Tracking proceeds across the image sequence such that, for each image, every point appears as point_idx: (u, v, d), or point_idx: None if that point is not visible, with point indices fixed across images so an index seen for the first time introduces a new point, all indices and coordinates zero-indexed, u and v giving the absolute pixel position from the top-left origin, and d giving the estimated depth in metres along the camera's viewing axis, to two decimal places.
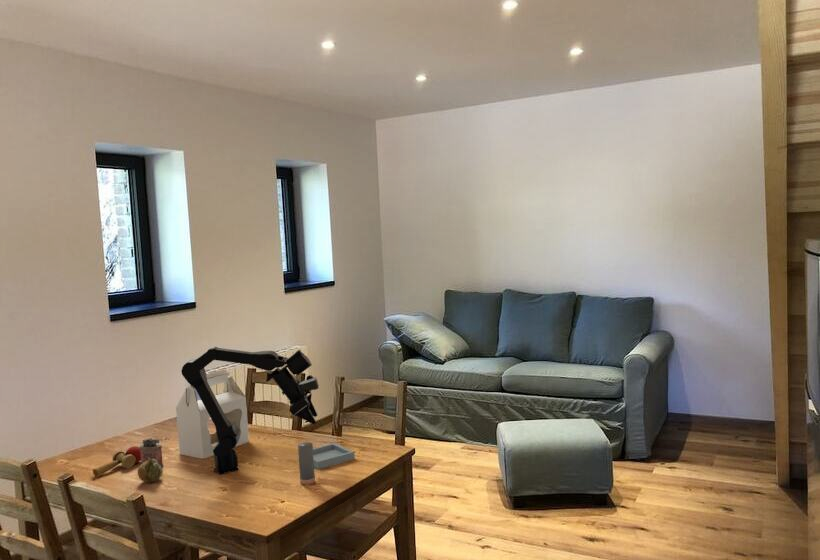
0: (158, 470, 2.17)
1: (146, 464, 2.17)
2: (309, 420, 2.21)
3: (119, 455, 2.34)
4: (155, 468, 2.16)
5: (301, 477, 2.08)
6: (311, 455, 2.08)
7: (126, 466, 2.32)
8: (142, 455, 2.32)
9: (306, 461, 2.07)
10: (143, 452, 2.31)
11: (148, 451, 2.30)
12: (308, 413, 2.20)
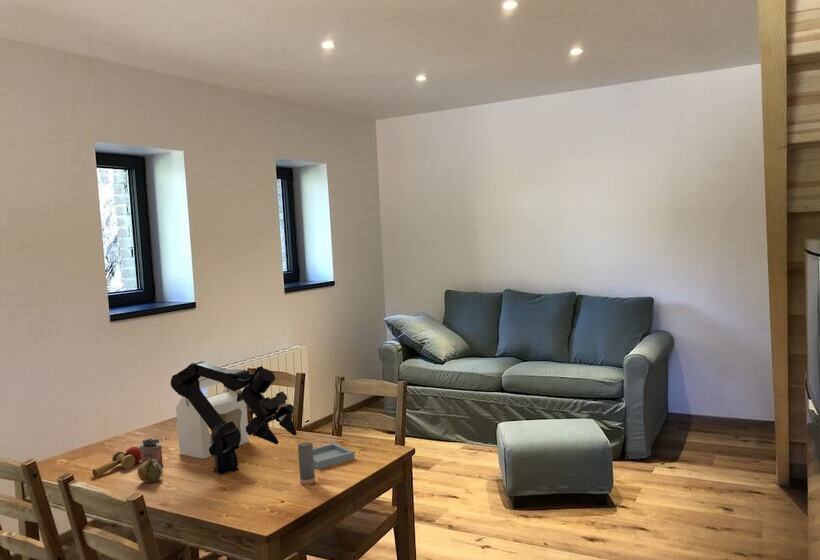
0: (158, 470, 2.17)
1: (146, 465, 2.16)
2: (270, 440, 2.08)
3: (119, 455, 2.34)
4: (155, 468, 2.16)
5: (301, 477, 2.08)
6: (311, 455, 2.08)
7: (126, 466, 2.32)
8: (142, 455, 2.32)
9: (306, 461, 2.07)
10: (143, 452, 2.31)
11: (148, 452, 2.30)
12: (267, 433, 2.07)
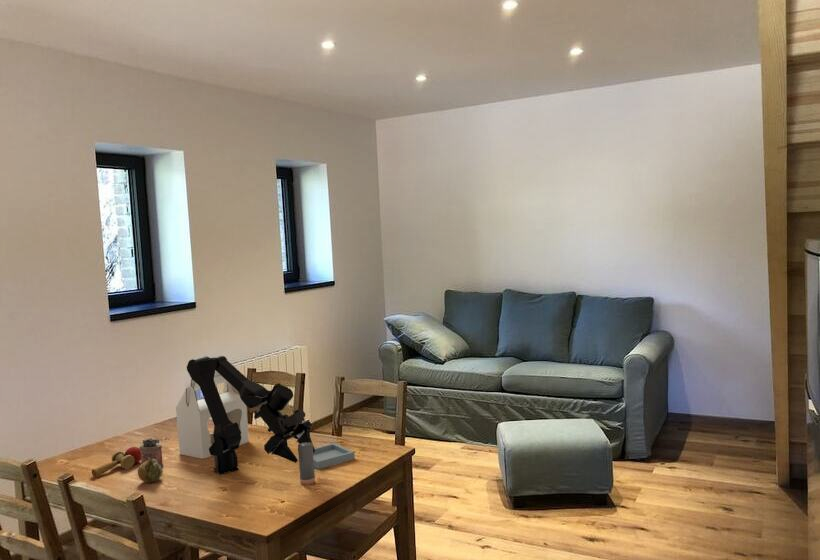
0: (158, 470, 2.17)
1: (146, 465, 2.16)
2: (289, 458, 2.05)
3: (118, 455, 2.34)
4: (155, 468, 2.16)
5: (301, 477, 2.08)
6: (311, 455, 2.08)
7: (125, 467, 2.31)
8: (142, 455, 2.32)
9: (306, 461, 2.07)
10: (143, 452, 2.31)
11: (148, 452, 2.30)
12: (286, 451, 2.05)
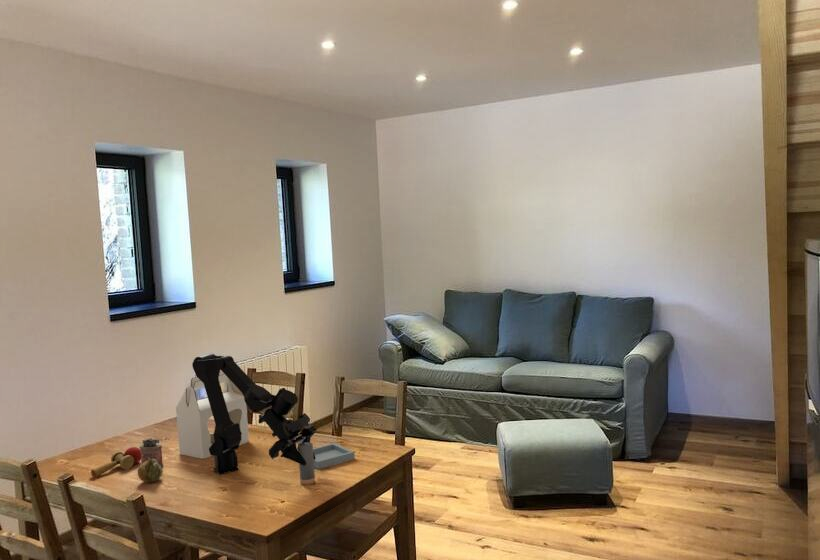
0: (158, 470, 2.17)
1: (146, 465, 2.16)
2: (298, 461, 2.06)
3: (117, 456, 2.33)
4: (155, 468, 2.16)
5: (301, 477, 2.08)
6: (311, 455, 2.08)
7: (124, 467, 2.31)
8: (142, 455, 2.32)
9: (306, 461, 2.07)
10: (143, 452, 2.31)
11: (148, 452, 2.30)
12: (295, 454, 2.06)
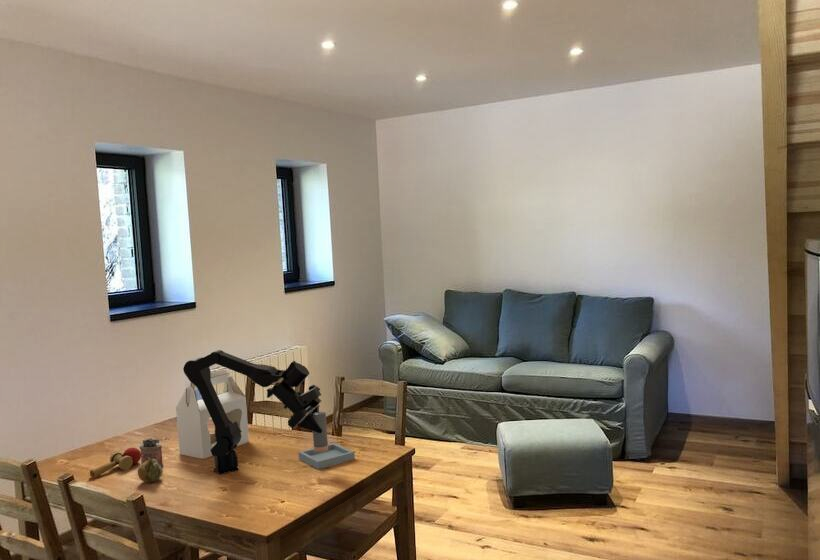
0: (158, 470, 2.17)
1: (146, 465, 2.16)
2: (314, 429, 2.15)
3: (116, 456, 2.33)
4: (155, 468, 2.16)
5: (316, 445, 2.17)
6: (325, 423, 2.18)
7: (123, 467, 2.31)
8: (142, 455, 2.32)
9: (322, 428, 2.16)
10: (143, 452, 2.31)
11: (148, 452, 2.30)
12: (312, 422, 2.15)
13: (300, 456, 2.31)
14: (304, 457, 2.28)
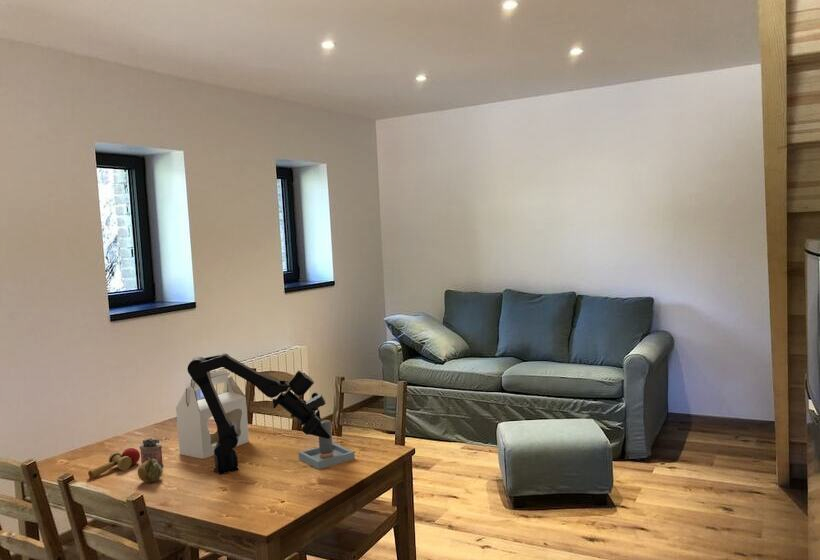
0: (158, 470, 2.17)
1: (146, 465, 2.16)
2: (323, 436, 2.25)
3: (115, 457, 2.33)
4: (155, 468, 2.16)
5: (324, 452, 2.28)
6: (331, 431, 2.30)
7: (122, 468, 2.30)
8: (142, 455, 2.32)
9: None
10: (143, 452, 2.31)
11: (148, 452, 2.30)
12: (321, 429, 2.24)
13: (300, 456, 2.31)
14: (304, 457, 2.28)
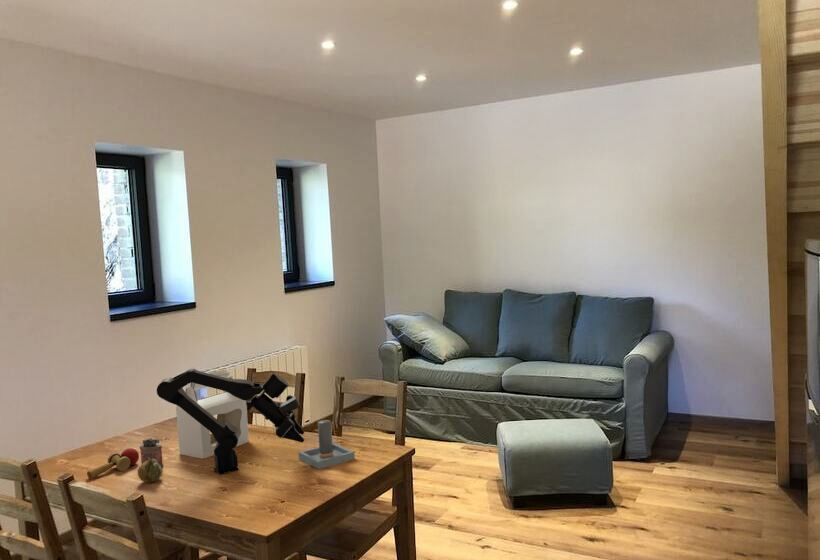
0: (158, 470, 2.17)
1: (146, 465, 2.16)
2: (297, 439, 2.23)
3: (114, 457, 2.32)
4: (155, 468, 2.16)
5: (324, 452, 2.28)
6: (331, 430, 2.30)
7: (121, 468, 2.30)
8: (142, 455, 2.32)
9: (329, 435, 2.28)
10: (143, 452, 2.31)
11: (148, 452, 2.30)
12: (295, 433, 2.22)
13: (300, 456, 2.31)
14: (304, 457, 2.28)
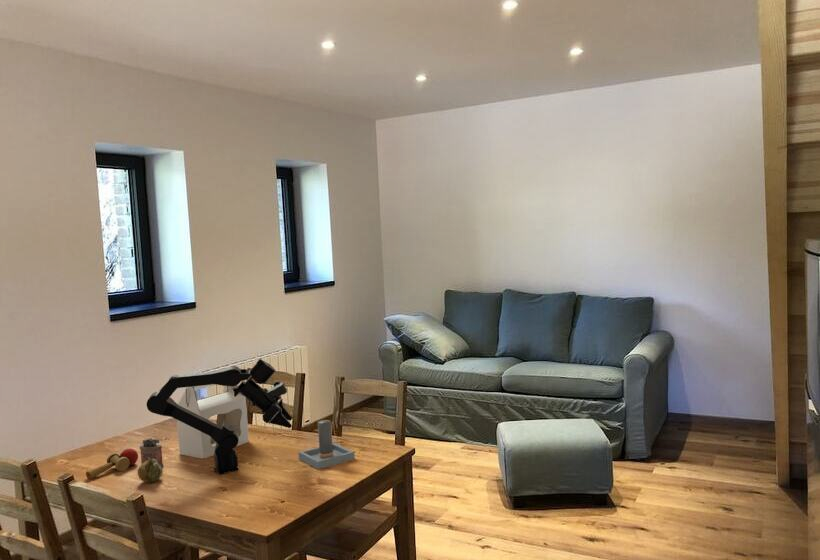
0: (158, 470, 2.17)
1: (146, 464, 2.17)
2: (284, 425, 2.22)
3: (113, 457, 2.32)
4: (155, 468, 2.16)
5: (324, 452, 2.28)
6: (331, 430, 2.30)
7: (120, 469, 2.30)
8: (142, 455, 2.32)
9: (329, 435, 2.28)
10: (143, 452, 2.31)
11: (148, 452, 2.30)
12: (282, 418, 2.22)
13: (300, 456, 2.31)
14: (304, 457, 2.28)
